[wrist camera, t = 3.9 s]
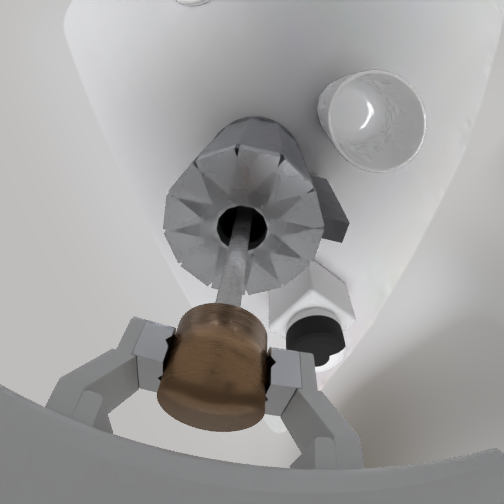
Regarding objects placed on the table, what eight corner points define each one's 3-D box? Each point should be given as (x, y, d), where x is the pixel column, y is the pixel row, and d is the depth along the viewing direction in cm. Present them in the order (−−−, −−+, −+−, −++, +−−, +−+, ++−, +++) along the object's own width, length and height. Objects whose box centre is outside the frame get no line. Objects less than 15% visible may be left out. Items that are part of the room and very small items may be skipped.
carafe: (218, 108, 30) (172, 132, 16) (332, 135, 30) (383, 183, 16) (202, 194, 34) (157, 277, 21) (307, 217, 35) (328, 312, 21)
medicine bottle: (268, 290, 41) (266, 362, 30) (305, 253, 37) (317, 322, 27) (308, 316, 42) (316, 387, 32) (346, 283, 39) (366, 353, 29)
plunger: (214, 139, 22) (85, 294, 7) (303, 159, 23) (370, 353, 7) (199, 220, 26) (114, 426, 10) (280, 238, 26) (286, 460, 10)
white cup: (294, 102, 29) (305, 110, 20) (353, 58, 26) (387, 50, 17) (342, 160, 32) (368, 192, 23) (398, 119, 29) (443, 136, 20)
